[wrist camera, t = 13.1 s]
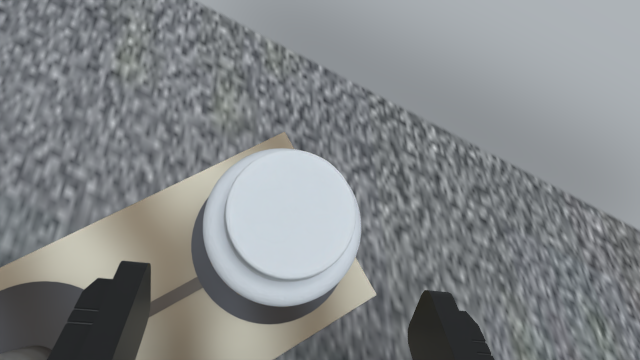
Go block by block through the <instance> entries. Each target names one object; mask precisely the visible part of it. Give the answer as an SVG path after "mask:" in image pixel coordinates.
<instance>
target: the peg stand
mask: <svg viewBox="0 0 640 360" xmlns="http://www.w3.org/2000/svg"><path fill="white" fill-rule="evenodd" d="M276 148H287V149H294V148H293V146H292V144H291V142H290V140H289V139H288V137H287V135H286V133H285V132H283V133H281V134H279V135H277V136H275V137H273V138H271V139H269V140H267V141H265V142H262V143H260V144H258V145H256V146H254V147H252V148H250V149H248V150H246V151H244V152H242V153H239V154H237V155H235V156H233V157H231V158H229V159H227V160H225V161H223V162H221V163H218V164H216V165H214V166H212V167H210V168H208V169H206V170H204V171H202V172H200V173H198V174H195V175H193V176H191V177H189V178H187V179H185V180H183V181H181V182H179V183H177V184H175V185H172V186H170V187H168V188H166V189H164V190H162V191H160V192H158V193H156V194H154V195H152V196H149V197H147V198H145V199H143V200H141V201H139V202H137V203H135V204H133V205H131V206H129V207H126V208H124V209H122V210H120V211H118V212H116V213H114V214H112V215H110V216H108V217H105V218H103V219H101V220H99V221H97V222H95V223H93V224H91V225H89V226H87V227H85V228H82V229H80V230H78V231H76V232H74V233H72V234H70V235H68V236H66V237H64V238H62V239H59V240H57V241H55V242H53V243H51V244H49V245H47V246H45V247H43V248H41V249H39V250H36V251H34V252H32V253H30V254H28V255H26V256H24V257H22V258H20V259H18V260H16V261H13V262H11V263H9V264H7V265H5V266H3V267H1V268H0V360H47V359H48V357H49V355H50V353H51V351H52V349H53V347H54V345H55V343H56V341H57V339H58V338H59V336H60V334H61V332H62V330H63V328H64V326H65V324H67V320H68V318H69V316H70V314H71V312H72V310H74V307H75V305H76V303H77V301H78V299H79V297H80V295H81V293H82V291H83V290H84V289H85V288H87V287H88V286H89V285H90V284H91V283H92V282H94V281H95V280H96V279H97V278H106V279H113V277H114V275H115V273H116V271H117V268H118V266H119V264H120V262H121V261H133V262H143V263H150V265H151V304H150V312H149V318H148V322H147V325H146V329H145V332H144V335H143V338H142V341H141V344H140V347H139V350H138V353H137V356H136V360H273V359H275V358H277V357H278V356H280V355H281V354H283V353H285V352H286V351H288V350H289V349H291V348H293V347H294V346H296V345H297V344H299V343H300V342H302V341H304V340H305V339H307V338H308V337H310V336H312V335H313V334H315V333H316V332H318V331H320V330H321V329H323V328H324V327H326V326H328V325H329V324H331V323H332V322H334V321H336V320H337V319H339V318H340V317H342V316H344V315H345V314H347V313H348V312H350V311H352V310H353V309H355V308H356V307H358V306H360V305H361V304H363V303H364V302H366V301H368V300H369V299H371V298H372V297H374V296H375V295H376V293H375V291H374V289H373V288H372V286H371V284H370V282H369V280H368V279H367V277H366V275H365V273H364V272H363V270H362V268H361V266H360V265H359V263H358V261H357V259H356V257H355V259H354V261H353V263H352V265H351V267H350V269H349V270H348V272H347V273H346V274H345V276H344V277H343V278H342V279H341V280H340V282H339V283H338V284H336V285H335V286H334V287H333V288H332V289H331V290H330V291H328V292H327V293H325V294H324V295H322V296H320V297H319V298H317V299H314V300H312V301H309V302H306V303H303V304H300V305H294V306H288V307H276V306H268V305H263V304H259V303H256V302H253V301H251V300H248V299H246V298H244V297H242V296H241V295H239V294H237V293H236V292H235V291H234V290H232V289H231V288H229V286H228V285H227V284H226V283H225V282H224V281H223V280H222V279H221V278H220V276H219V275H218V274H217V272H216V271H215V269H214V268H213V266H212V264H211V262H210V260H209V257H208V255H207V252H206V248H205V244H204V239H203V217H204V210H205V207H206V203H207V200H208V197H209V195H210V193H211V191H212V189H213V187H214V186H215V184H216V183H217V181H218V180H219V179H220V177H221V176H222V175H223V174H224V173H225V172H226V171H227V170H228V169H229V168H230V167H231V166H233V165H234V164H235V163H237V162H238V161H240V160H241V159H243V158H245V157H246V156H249V155H251V154H253V153H256V152H259V151H263V150H268V149H276Z"/></svg>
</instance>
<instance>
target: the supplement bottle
mask: <svg viewBox="0 0 640 360" xmlns="http://www.w3.org/2000/svg"><path fill="white" fill-rule="evenodd" d="M360 237H361V217H360V211H359V207H358V204H357V201H356V198H355V196H354V193H353V191H352V189H351V187H350V186H349V185H348V183H347V182H346V180H345V179H344V177H343V176H342V175H341V174H340V172H339V171H338V170H337V169H336V168H335V167H334V166H333V165H332V164H330V163H329V162H328V161H326V160H325V159H323V158H321V157H319V156H317V155H314V154H312V153H309V152H305V151H300V150H296V149H287V148H276V149H268V150H263V151H259V152H256V153H253V154H251V155H249V156H246V157H245V158H243V159H241V160H240V161H238V162H237V163H235V164H234V165H233V166H231V167H230V168H229V169H228V170H227V171H226V172H225V173H224V174H223V175H222V176H221V177H220V179H219V180H218V181H217V183H216V184H215V186H214V187H213V189H212V191H211V193H210V195H209V197H208V200H207V203H206V207H205V210H204V217H203V239H204V244H205V248H206V252H207V255H208V257H209V260H210V262H211V264H212V266H213V268H214V269H215V271H216V272H217V274H218V275H219V276H220V278H221V279H222V280H223V281H224V282H225V283H226V284H227V285H228V286H229V288H231V289H232V290H234V291H235V292H236V293H237V294H239V295H241V296H242V297H244V298H246V299H248V300H251V301H253V302H256V303H259V304H263V305H268V306H276V307H288V306H294V305H300V304H303V303H306V302H309V301H312V300H314V299H317V298H319V297H320V296H322V295H324V294H325V293H327V292H328V291H330V290H331V289H332V288H333V287H334V286H335V285H336V284H338V283H339V282H340V280H341V279H342V278H343V277H344V276H345V274H346V273H347V272H348V270H349V269H350V267H351V265H352V263H353V261H354V259H355V257H356V254H357V251H358V248H359V244H360Z"/></svg>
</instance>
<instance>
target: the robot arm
mask: <svg viewBox="0 0 640 360" xmlns="http://www.w3.org/2000/svg"><path fill="white" fill-rule="evenodd" d="M150 304H151V265H150V263H143V262H133V261H121V262H120V264H119V266H118V268H117V271H116V273H115V275H114V277H113V279H106V278H97V279H96V280H95V281H94V282H92V283H91V284H90V285H89V286H88V287H87V288H85V289H84V290H83V291H82V293H81V295H80V297H79V299H78V301H77V303H76V305H75V307H74V310H72V312H71V314H70V316H69V318H68V320H67V324H65V326H64V328H63V330H62V332H61V334H60V336H59V338H58V339H57V341H56V343H55V345H54V347H53V349H52V351H51V353H50V355H49V357H48V359H47V360H136V356H137V353H138V350H139V347H140V344H141V341H142V338H143V335H144V332H145V329H146V325H147V322H148V318H149V312H150ZM408 344H409V348H410V352H411V355H412V359H413V360H494V358H493V356H491V352H490V349H489V347H488V345H487V344H486V343H485V339H484V336H483V334H482V332H481V330H480V328H479V326H478V324H477V323H476V322H475V321H474V320H473V319H472V318H471V317H470V316H469V314H468V313H467V312H466V311H459V310H458V307H457V305H456V303H455V300H454V298H453V296H452V294H451V293H449V292H439V291H428V290H425V291H424V292H423V293H422V295H421V298H420V300H419V302H418V305H417V307H416V310H415V312H414V314H413V317H412V319H411V322H410V324H409V328H408Z"/></svg>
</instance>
